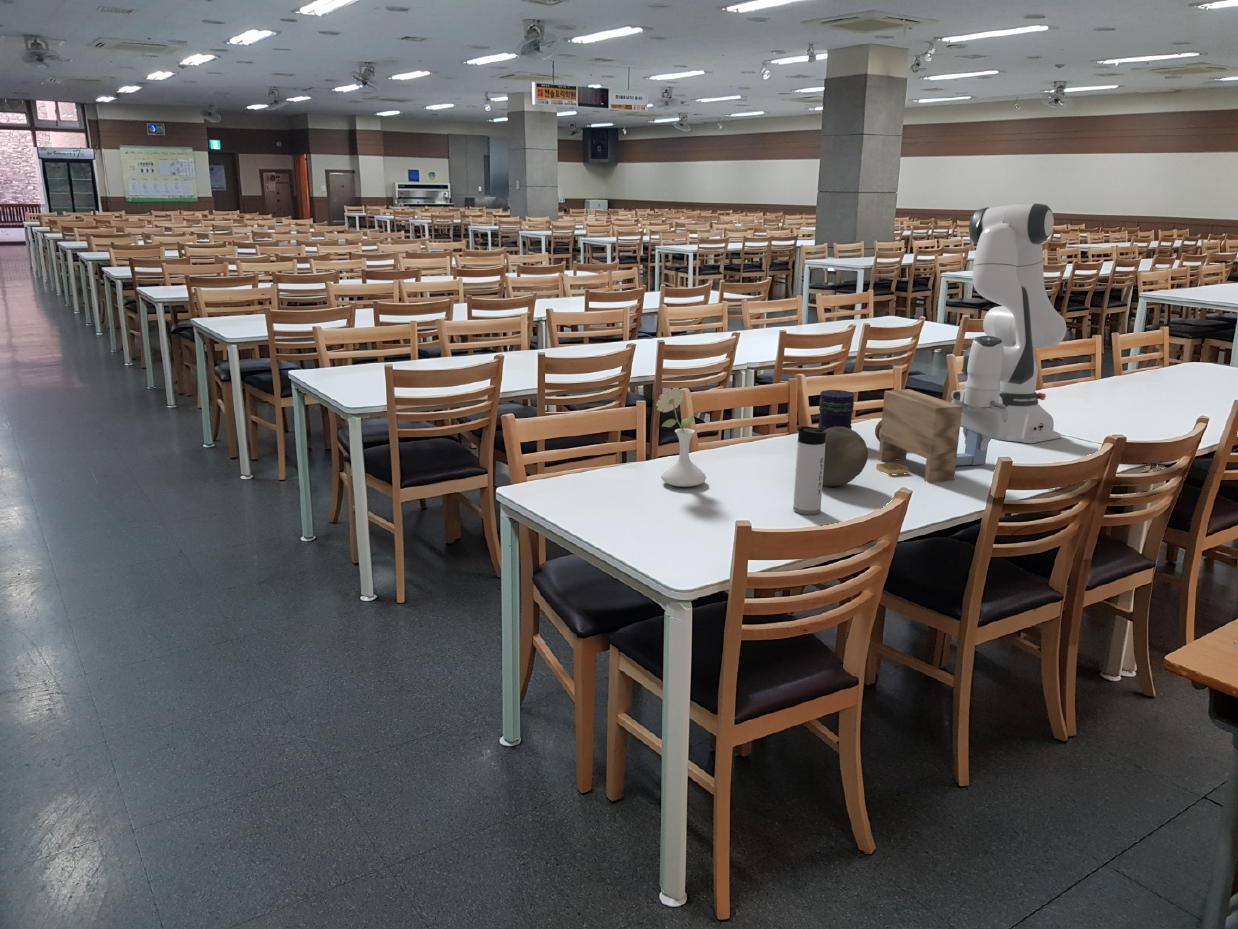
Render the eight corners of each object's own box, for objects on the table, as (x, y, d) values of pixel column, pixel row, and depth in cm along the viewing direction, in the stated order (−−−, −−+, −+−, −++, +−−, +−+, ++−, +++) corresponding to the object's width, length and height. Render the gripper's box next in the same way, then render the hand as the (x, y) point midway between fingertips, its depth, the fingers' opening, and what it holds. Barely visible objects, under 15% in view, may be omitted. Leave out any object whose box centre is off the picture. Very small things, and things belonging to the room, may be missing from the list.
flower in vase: (698, 476, 241) (701, 381, 234) (711, 489, 230) (715, 390, 223) (649, 478, 238) (651, 383, 231) (660, 492, 227) (663, 392, 220)
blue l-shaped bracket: (975, 460, 256) (980, 425, 254) (985, 464, 253) (990, 428, 250) (928, 463, 251) (932, 427, 249) (937, 467, 248) (942, 431, 245)
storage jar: (848, 448, 268) (853, 398, 264) (814, 445, 271) (818, 395, 267) (852, 440, 277) (856, 391, 273) (818, 437, 280) (822, 388, 276)
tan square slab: (895, 469, 249) (896, 462, 249) (908, 475, 244) (909, 468, 243) (876, 471, 248) (876, 464, 247) (888, 477, 242) (889, 470, 242)
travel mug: (788, 506, 218) (793, 424, 212) (816, 506, 218) (822, 423, 212) (795, 515, 212) (801, 430, 206) (823, 515, 212) (830, 430, 206)
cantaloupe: (818, 495, 226) (823, 435, 222) (799, 478, 239) (802, 422, 235) (873, 493, 228) (878, 434, 224) (850, 476, 241) (855, 420, 237)
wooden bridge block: (903, 457, 259) (910, 389, 254) (955, 479, 239) (963, 406, 234) (878, 460, 257) (884, 390, 251) (927, 482, 237) (935, 408, 231)
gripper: (1018, 405, 240) (1011, 456, 244) (966, 389, 259) (960, 437, 263) (998, 406, 238) (992, 458, 242) (947, 391, 257) (942, 439, 261)
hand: (975, 447), depth 253 cm, fingers closed on blue l-shaped bracket, 4 cm apart
